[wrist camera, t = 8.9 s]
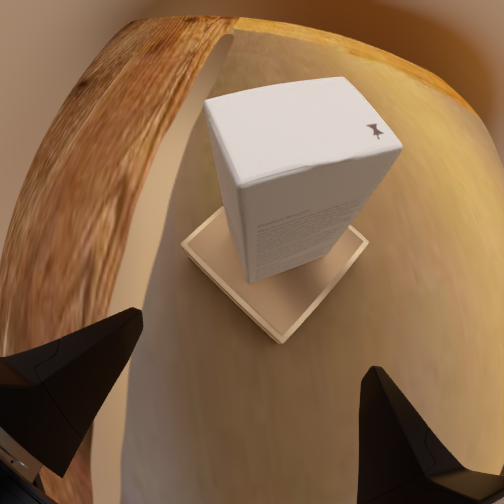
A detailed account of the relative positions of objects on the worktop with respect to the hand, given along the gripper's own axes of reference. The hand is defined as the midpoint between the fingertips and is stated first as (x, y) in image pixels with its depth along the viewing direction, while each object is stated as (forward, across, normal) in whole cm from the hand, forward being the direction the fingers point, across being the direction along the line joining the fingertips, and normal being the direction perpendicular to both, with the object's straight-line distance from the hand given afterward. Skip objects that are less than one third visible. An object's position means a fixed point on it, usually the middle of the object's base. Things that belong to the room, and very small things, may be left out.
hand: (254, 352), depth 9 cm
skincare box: (+11, 0, 0) cm, 11 cm away
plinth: (+13, 0, +2) cm, 13 cm away
